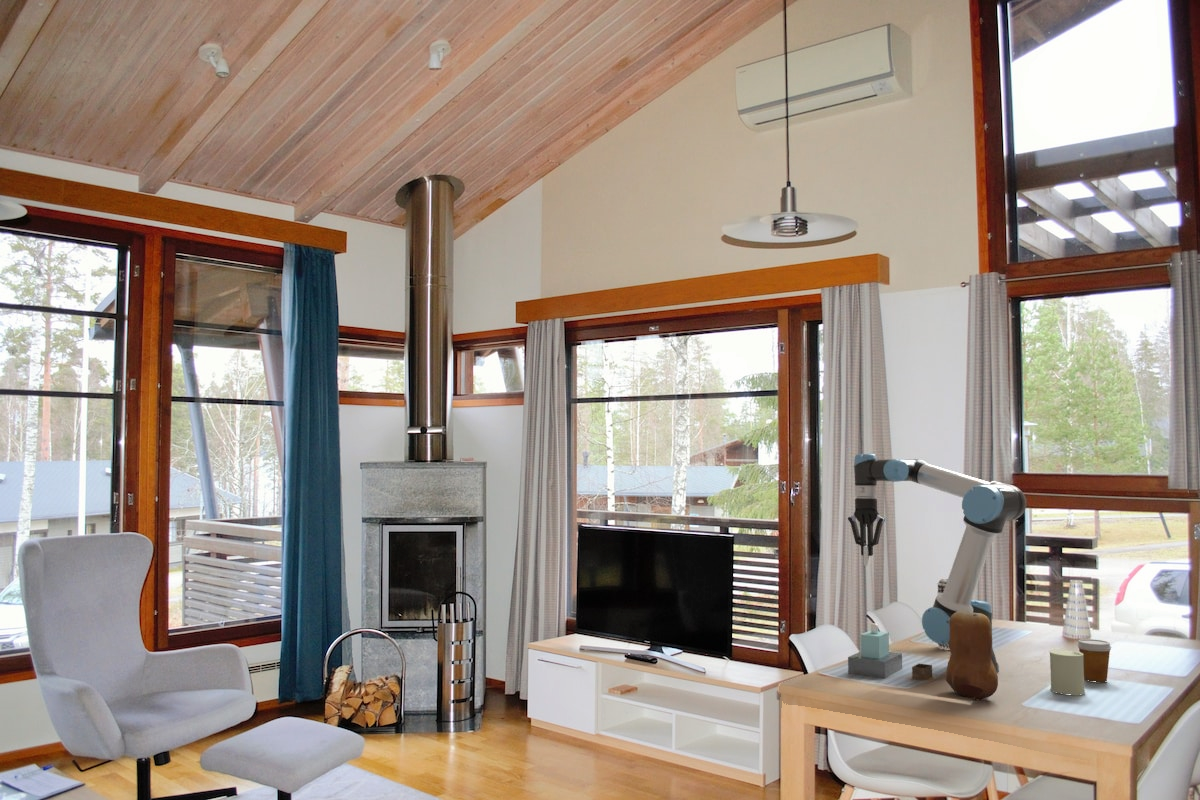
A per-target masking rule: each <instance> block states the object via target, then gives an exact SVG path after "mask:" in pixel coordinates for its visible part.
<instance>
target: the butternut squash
mask: <svg viewBox="0 0 1200 800" xmlns="http://www.w3.org/2000/svg"><path fill="white" fill-rule="evenodd" d="M949 626H950V635H949V636H950V639H949V642H948V646H949V648H950V657H949V659H948V662H947V665H946V677H945V681H946V682H947V684H948V686H949V687H950V688H951V689H952V690H953V692H955V693H956V694H958V695H959V696H962V697H967V698H973V699H972V701H980V700H981V701H982V700H984V699H988V698H990V697H992V696H993V695H994V694H995V692H997V689H998V687H999V686H998V685H999V677H998V675H999V674H998V673H997V672H996V669H995V667H994V664H993V662H992V660H991V648H993V632H992V633H991V625H990V621H989V619H988V617H987V616H985V615H984V614H981V613H973V612H969V611H958V612H955V613H954V614H953V615H952V616H951V618H950V621H949Z"/></svg>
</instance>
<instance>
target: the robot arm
mask: <svg viewBox="0 0 1200 800" xmlns="http://www.w3.org/2000/svg"><path fill="white" fill-rule="evenodd" d="M853 462H854V463H853V470H854V472H853V473H854V497H855V499H854V512H853V515H851V516H848V518H847V519H848V520H847V521H848V522H849V523H850V527H851V530H852V534H853V538H854V542H855V544H856V545H859V546H860V555H861V556H863V566H867V567H869V566H871V564H872V563H871V561H872V559H871V558H872V556H873V555H874V546H877V545H879V542H880V537H881V534H882V533H881V532H882V529H883V524H884V523H885V522H886V518H885V517H882V516H881V515H880V514H879V512H878V499H877V498H876V497H878V490H877V489H878V486H877V485H878V484H877V483H878V482H893V483H895V482H898V483H899V482H914V483H915V484H919V485H923V486H925V487H929V488H931V489H935V490H937V491H940V492H944V493H947V494H950V495H952V496H956V497H959V498H962V502H961V508H962V510H963V515H964V516H963V522H964V525H965V529H964V532H963V535H962V537H961V540H960V543H959V545H958V549H957V553H956V555H955V559H954V561H953V563H952V567H951V569H950V572H949V574H948V578H947V579H948V580H947V583H946V586H945V589H944V592H943V593H942V594H939V595H938V594H936V597H935V600H934V602H933V605H932V606H931V607H929V608H927V609H925V611H924V612H923V614H922V617H921V625H922V629H924V633H925V635H926V637H928V639H929V640H931V641H932V642H934V643H935V644H937V645H938V644H948V642H949V639H950V636H949V635H950V626H949V621H950V618H951V616H952V615H953V614H954V613H955V612H958V611H969V612H973V613H981V614H984V615H985V616H987V617H988V619H989V621H990V625H991V633H992V634H993V623H992V620H993V612H992V606H991V603H989V602H987V601H983V600H976V599H973V596H974V594H975V591H976V589H977V586H978V583H979V582H980V577H981V575H982V572H983V569H984V567H985V564H986V561H987V559H988V556H989V553H990V549H991V547H992V544H993V541H994V539H995V537H996V536H998V535H1001V534H1002V532H1003V530H1004V527H1005V524H1006V522H1011V521H1014V520H1017V519H1018V518H1020V517H1021V516H1022V515H1023V514H1024V513H1025V511H1026V508H1027V498H1026V496H1025V494H1024V493H1023V491H1022V490H1021V489H1020V488H1019V487H1017V486H1015V485H1013V484H1008V483H1004V482H1001V481H997V480H993V481H985V480H983V479H979V478H976V477H972V476H971V475H970V476H969V475H966V474H963V473H960V472H956V471H952V470H949V469H947V468H943V467H940V466H936V465H934V464H933V465H932V464H929V463H927V462H926V460H925V461H924V460H922V459H916V458H913V459H912V458H911V459H899V458H895V459H894V458H892V459H888V458H887V459H877V455H876V454H874V453H857V454H855V455H854V461H853ZM875 521H876V522H877V523H876V524H875V525H876V526H875V530H874V523H875ZM857 522H859V527H858V524H857ZM991 660H992V662H993V664H994V667H995V669H996V672H997V674H999V673H998V672H1000V666H999V663H998V662H997V658H996V655H995V651H994V648H993V647H992V648H991Z"/></svg>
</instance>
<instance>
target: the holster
mask: <svg viewBox="0 0 1200 800" xmlns="http://www.w3.org/2000/svg"><path fill="white" fill-rule="evenodd" d="M911 673H912V674H910V675H908V676H906V677H905V679H909V680H916V681H921V682H922V681H923V682H930V683H932V682H933V681H935V680H937V679H938V678H939V676H937V675H933V665H932V664H926V663H917V664H914V665H913V666H912V667H911Z"/></svg>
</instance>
